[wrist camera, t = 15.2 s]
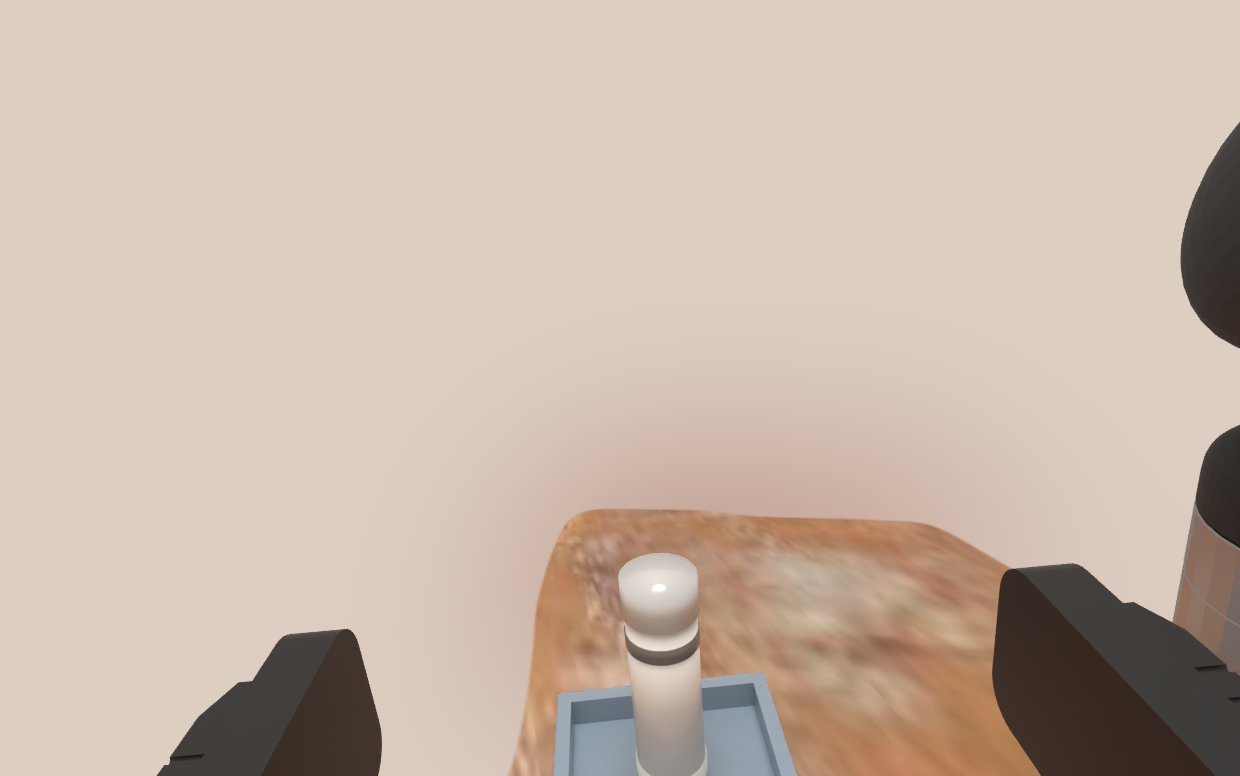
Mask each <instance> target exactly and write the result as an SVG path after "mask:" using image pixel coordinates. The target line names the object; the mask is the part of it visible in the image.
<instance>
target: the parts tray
mask: <svg viewBox="0 0 1240 776" xmlns="http://www.w3.org/2000/svg"><path fill="white" fill-rule="evenodd" d="M701 686H702V703H703V721H704V739H705V745H706V748H707V758H708V776H797V773H796V770H795V767H794V764H793V761H792V758H791V755H790V752H789V749H788V746H787V743H786V740H785V736H784V733H783V730H782V727H781V724H780V721H779V718H778V715H777V712H776V709H775V706H774V703H773V699H772V696H771V693H770V690H769V687H768V684H767V681H766V678H765V675H764V672H759V673H749V674H740V675H730V676H721V677H712V678H702V679H701ZM636 747H637V746H636V735H635V725H634V714H633V704H632V694H631V686H627V687H617V688H608V689H598V690H589V691H579V692H570V693H560V694H558V708H557V724H556V741H555V758H554V775H553V776H637V765H636Z"/></svg>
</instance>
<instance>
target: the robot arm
mask: <svg viewBox="0 0 1240 776" xmlns="http://www.w3.org/2000/svg"><path fill="white" fill-rule="evenodd" d="M1181 272H1182V279H1183V285H1184V288H1185V291H1186V293H1187V296H1188V299H1189V301H1190V304H1191V306H1192V308H1193V309H1194V311H1195V312H1196V314H1197V315H1198V317H1199V318H1200V320H1201V321H1202V322H1203V323H1204V324H1205V325H1206V326H1207V327H1208V328H1209V329H1210V330H1211V331H1212V332H1213V333H1214V334H1215V335H1217V336H1218V337H1220V338H1221V339H1223V340H1225V341H1227V342H1228V343H1230V344H1232V345H1234V346H1236V347H1238V348H1240V122H1239V124H1238V125H1237V126H1236V127H1235V129H1234V130H1233V131H1232V133H1231V134H1230V135H1229V136H1228V138H1227V139H1226V141H1225V142H1224V143H1223V144H1222V146H1221V147H1220V149H1219V151H1218V152H1217V154H1216V156H1215V157H1214V159H1213V161H1212V162H1211V164H1210V166H1209V167H1208V169H1207V171H1206V173H1205V175H1204V177H1203V179H1202V181H1201V184H1200V186H1199V188H1198V190H1197V192H1196V194H1195V197H1194V200H1193V202H1192V205H1191V208H1190V210H1189V214H1188V217H1187V220H1186V223H1185V228H1184V232H1183V238H1182V244H1181ZM992 677H993V686H994V691H995V696H996V699H997V703H998V706H999V708H1000V711H1001V713H1002V716H1003V718H1004V720H1005V722H1006V724H1007V725H1008V727H1009V729H1010V730H1011V732H1012V733H1013V735H1014V736H1015V738H1016V739H1017V741H1018V742H1019V744H1020V745H1021V747H1022V748H1023V749H1024V751H1025V752H1026V754H1027V755H1028V757H1029V758H1030V760H1031V761H1032V763H1033V764H1034V766H1035V767H1036V769H1037V770H1038V772H1039V773H1040V775H1041V776H1240V425H1239V426H1236V427H1234V428H1232V429H1230V430H1228V431H1226V432H1225V433H1223V434H1222V435H1220V436H1219V437H1218V438H1217V439H1216V440H1215V441H1214V442H1213V443H1212V444H1211V446H1210V447H1209V449H1208V450H1207V452H1206V454H1205V457H1204V460H1203V464H1202V467H1201V472H1200V477H1199V483H1198V488H1197V493H1196V501H1195V503H1194V508H1193V514H1192V519H1191V525H1190V530H1189V535H1188V540H1187V546H1186V552H1185V556H1184V564H1183V569H1182V574H1181V580H1180V585H1179V590H1178V596H1177V601H1176V606H1175V612H1174V617H1173V622H1170V621H1168V620H1167V619H1165V618H1163V617H1161V616H1159V615H1157V614H1155V613H1153V612H1151V611H1149V610H1147V609H1146V608H1144V607H1142V606H1140V605H1138V604H1136V603H1134V602H1131V603H1122V602H1121V601H1120V600H1119V599H1118V598H1117V597H1116V596H1115V595H1114V594H1112V593H1111V592H1110V591H1109V590H1108V589H1107V588H1106V587H1105V586H1103V585H1102V584H1101V583H1100V582H1099V581H1098V580H1097V579H1096V578H1095V577H1094V576H1093V575H1091V574H1090V573H1089V572H1088V571H1087V570H1085V569H1084V568H1083V567H1081V566H1079V565H1077V564H1073V563H1072V564H1061V565H1049V566H1038V567H1028V568H1017V569H1009V570H1007V571H1006V572H1005V573H1004V575H1003V577H1002V580H1001V584H1000V592H999V603H998V614H997V624H996V635H995V646H994V657H993V668H992ZM381 752H382V737H381V728H380V723H379V719H378V715H377V712H376V708H375V704H374V700H373V696H372V693H371V689H370V685H369V681H368V678H367V674H366V670H365V666H364V663H363V660H362V655H361V652H360V648H359V644H358V641H357V639H356V637H355V635H354V634H353V632H352V631H351V630H348V629H342V630H331V631H321V632H309V633H299V634H289V635H286V636H283V637H282V638H281V639H280V640H279V641H278V643H277V644H276V645H275V647H274V649H273V650H272V652H271V653H270V655H269V656H268V658H267V659H266V661H265V662H264V664H263V665H262V667H261V668H260V670H259V671H258V673H257V675H256V676H255V678H254V679H253V681H249V682H239V683H237V684H236V685H235V686H234V687H233V688H232V689H230V690H229V691H228V692H227V693H226V694H225V695H224V696H222V697H221V698H220V699H219V700H218V701H217V702H215V703H214V704H213V705H212V706H211V707H209V708H208V709H207V710H206V711H205V712H204V713H203V714H201V715H200V716H199V717H198V718H197V719H196V721H195V722H194V724H193V725H192V727H191V728H190V729H189V731H188V732H187V734H186V735H185V737H184V738H183V739H182V741H181V742H180V744H179V745H178V747H177V748H176V749H175V751H174V752H173V754H172V755H171V757H170V763H169V765H164V766H163V768H162V769H161V771H160V772H159V773H158V775H157V776H378V774H379V768H380V762H381Z"/></svg>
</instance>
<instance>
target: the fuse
mask: <svg viewBox="0 0 1240 776" xmlns="http://www.w3.org/2000/svg"><path fill="white" fill-rule="evenodd" d="M618 580H619V590H620V601H621V611H622V617H623V620H624V621H625V627H624V631H625V642H626V648H627V652H628V662H629V673H630V683H631V694H632V704H633V714H634V725H635V735H636V746H637V747H636V765H637V776H708V758H707V748H706V745H705V739H704V721H703V703H702V686H701V668H700V650H699V644H700V632H699V622H698V614H699V595H698V577H697V570H696V568H695V566H694V565H693V564H692V563H691V562H690V561H689V560H687V559H685V558H683V557H681V556H678V555H674V554H668V553H653V554H647V555H643V556H640V557H637V558H635V559H633V560H631V561H629V562H628V563H626V564H625V565H624V566H623V567H622V569H621V570H620V572H619V575H618Z"/></svg>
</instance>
